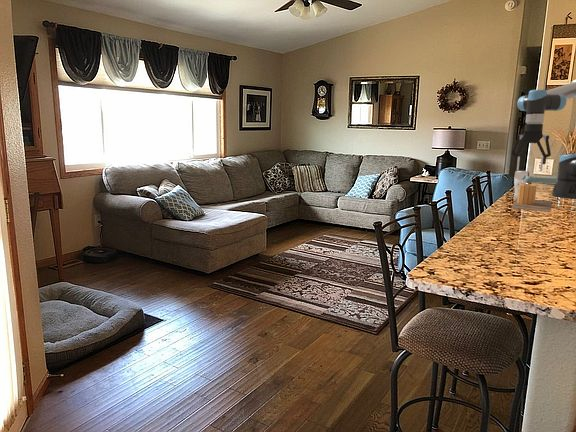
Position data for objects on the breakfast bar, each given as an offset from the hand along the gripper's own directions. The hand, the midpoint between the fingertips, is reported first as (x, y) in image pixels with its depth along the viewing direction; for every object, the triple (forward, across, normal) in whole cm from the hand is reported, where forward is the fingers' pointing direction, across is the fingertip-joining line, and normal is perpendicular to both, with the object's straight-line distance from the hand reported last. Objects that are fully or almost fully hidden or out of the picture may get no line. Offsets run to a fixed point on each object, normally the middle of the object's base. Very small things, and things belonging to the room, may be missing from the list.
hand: (529, 170), depth 221 cm
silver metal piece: (+16, 0, +5) cm, 17 cm away
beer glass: (+18, -4, +18) cm, 26 cm away
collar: (+16, 0, 0) cm, 16 cm away
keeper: (+7, +5, +9) cm, 12 cm away
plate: (+18, +3, -3) cm, 18 cm away
